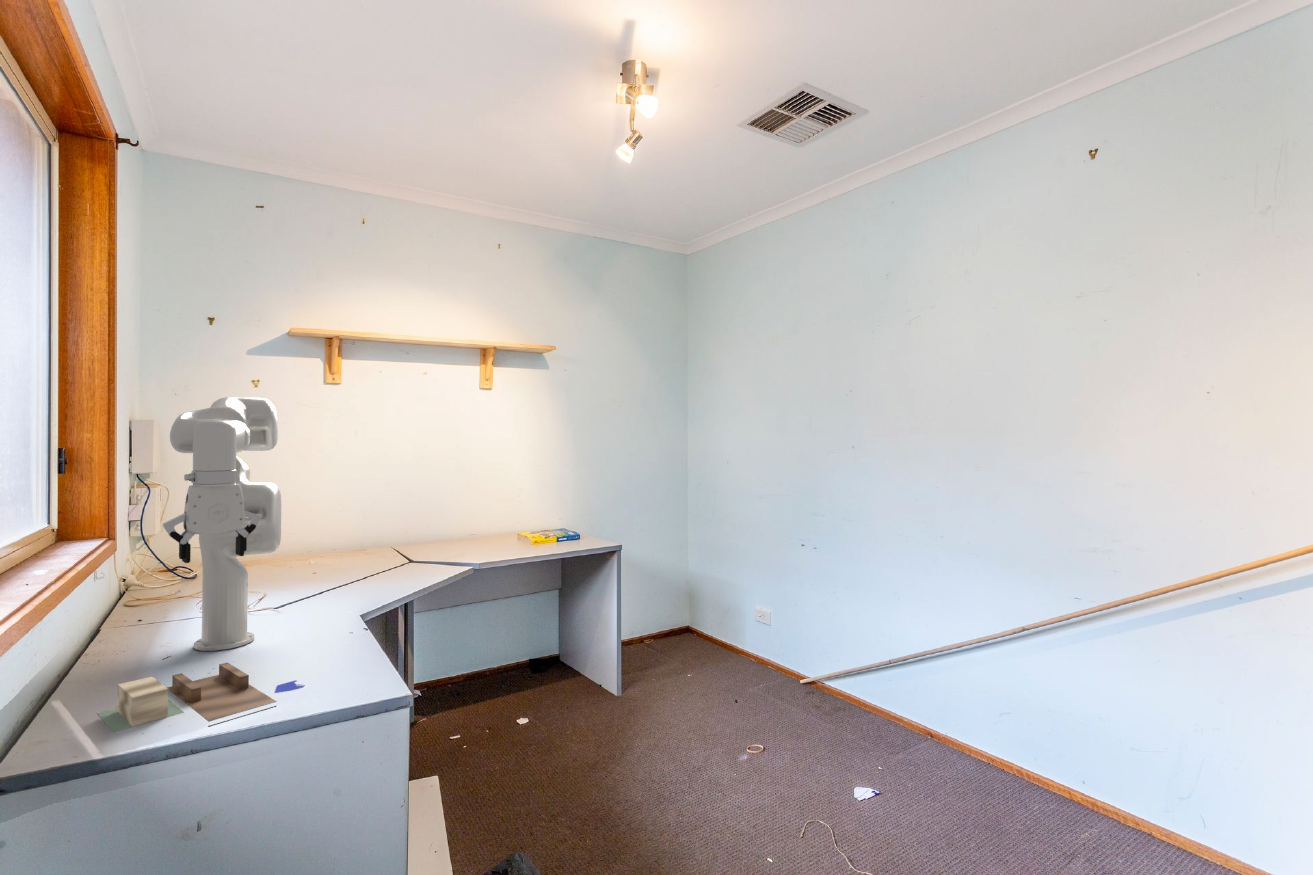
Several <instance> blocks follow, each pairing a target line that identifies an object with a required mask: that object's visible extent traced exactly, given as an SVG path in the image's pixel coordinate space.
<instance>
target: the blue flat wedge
mask: <svg viewBox="0 0 1313 875" xmlns="http://www.w3.org/2000/svg"><path fill="white" fill-rule="evenodd" d="M296 682H298V681H297V680H292V681H291V680H290V681H289V682H285V683H281V684H277V685H276V687H275V690H274V693H273V694H280V693H284V692H285V693H286V692H291V691H295V690H300V689H302V688H304V687H305V686H306V684H305V685H303V684H300V683H298V684H297V683H296Z"/></svg>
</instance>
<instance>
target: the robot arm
mask: <svg viewBox="0 0 1313 875" xmlns="http://www.w3.org/2000/svg"><path fill="white" fill-rule="evenodd" d="M276 410H277V409H276V407H275V405H274V404H273V403H272V401H270V400H269V399H268V398H261V397H240V396H230V397H229V396H226V397H221V398H218V399H217V400H214V402H212V404H211V405H210V407H207V408H203V409H198V410H191V411H187V412H183V413H181V414H180V415H178V416H177V417H176V418H175V420H174V421H173V423H172V425H171V428H170V434H169V442H170V445H171V447H172V448H173V449H174V450H175V451H176V452H177V453H182V454H192V470H191V472H189V473H188V474H187V473H185V474H184V475H183V478H184V479H183V480H184V481H185V482H187V481H189V482H191V484H192V485H188V488H187V492H186V495H185V496H186V497H185V502H184V509H183V513H182V514H180V515H178V516H175V517H174V518H172V519H170V520H168V521H166V522H164V523H162V528H164V530H165V532H166V533H167V535H168V536H169V537H170V538H171V539H173V540H174V541H176V542H177V543H178V557H179V560H181V562H182V563H185V564H190V563H191V546H192V545H191V544H190V543H189V541H190V540H191V539H192V538H193V537H194V536H195V535H198V542H199V543H198V544H199V549H200V556H201V563H202V564H201V566H202V591H201V593H202V594H201V596H202V598H201V600H202V601H201V602H202V603H201V605H202V606H201V638H199V639H197V640H196V641H195V642H194V643H193V649H195V650H196V651H201V652H206V651H207V652H214V651H223V650H230V649H234V648H238V647H242V646H245V645H247V644H250V643H252V642H253V641H254V640H255V634H254V633H252V632H250V631H248V610H249V609H248V607H249V606H248V602H249V599H248V596H249V594H248V593H249V572H248V570H247V568H246V566H245V565H244V564H243V563H242V562H241V561H240V560H239V559H238V558H237V557H244V556H251V555H252V556H253V555H265V554H271V553H274V552H276V551H277V550H278V549H279V547H280V545H281V540H282V539H281V538H282V495H281V490H280V488H279V486H278V485H277V484H275V483H273V482H269V481H256V482H255V481H254V482H252V481H251V482H250V478H251V470H250V467H249V466H248V465H247V463H245V461H243V460H242V459H241V457H239V456H238V455H237V453H241V452H243V451H245V452H246V451H247V452H248V451H250V452H253V451H256V452H257V451H259V452H261V451H262V452H263V451H271V450H273V449H274V448H275V447H276V446H277V444H278V441H279V433H278V432H279V430H278V428H279V427H278V414H277V411H276ZM181 523H183V524H182V526H183V529H184V530H183V531H182V533H179V532H177V531H176V529H175V527H176V526H177V525H179V524H181Z"/></svg>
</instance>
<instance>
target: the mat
mask: <svg viewBox="0 0 1313 875" xmlns="http://www.w3.org/2000/svg"><path fill="white" fill-rule="evenodd" d="M117 709H118V707H116V708H112V709H108V710H104V711H100V712H97V716H98V717H99V718H101V720H102V721H103V722H104V723H105V725H106V726H108V728H109V729H110V730H111V732H113V733H115V732H119V731H122V730H126V729H129V728H133V727H137V726H141V725H145V724H148V723H151V722H156V721H158V720H162V719H166V718H169V717H172V716H176V715H180V714H184V713H185V712H184V711H183V710H182V709H181V708H180V707H179V706H178V705H177V704H175V703H174V702H173V701H171V699H169V698H168V717H165V718H161V719H157V720H154V721H150V722H147V723H143V724H139V725H136V726H131V725H130V724H129V723H128V722H127V721H126V720H125V719H124V718H123V717H122V716H121V715H120V714H119V713H118V711H117Z"/></svg>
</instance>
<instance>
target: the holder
mask: <svg viewBox="0 0 1313 875" xmlns="http://www.w3.org/2000/svg"><path fill="white" fill-rule="evenodd" d="M218 668H219V669H218V674H216V675H213V676H208V677H203V678H200V679H196V680H195V679H194V680H192V679H191V678H189V677H187V676H186V675H185V674H183V672H181V673H177V674H174V675H172V676H171V677H172V680H171V681H172V683H171V685H172V686H168V687H167V686H166V688H168V691H170V692H171V693H172V694H174V696H176V697H177V698H179V699H180V700H181V701H182V702H184V703H185V704H186V705H187V706H189V707H190V708H191V709H193V711H195V712H196V713H197V714H199V715H200V716H201V717H202V718H204V719H205V720H206V721H208V722H212V721H216V720H219V719H223V718H225V717H229V716H232V715H237V714H240V713H243V712H246V711H249V710H253V709H256V708H260V707H264V706H267V705H270V704H273V703H276V702H277V701H276V700H275V699H274V698H272V697H271V696H268V695H267V694H265V692H262V691H261V690H259V689H258V688H256V687H254V686H252V685H251V684H250V682H249V681H250V680H249V679H250V677H249V674H247V673H246V672H244V671H243V670H241V669H239V668H238V667H236V666H234V665H233V664H231V663H229V662H223V663H220V664H219V666H218ZM273 708H277V705H274V706H270V707H267V708H264V709H260V710H257V711H254V712H251V713H246V714H244V715H240V716H236V717H234V718H231V719H227V720H224V721H221V722H217V723H215V724H211V725H208V726H207V727H208V728H210V727H213V726H216V725H220V724H222V723H225V722H226V723H227V722H229V721H233V720H236V719H240V718H243V717H246V716H250V715H252V714H256V713H259V712H263V711H266V710H271V709H273Z"/></svg>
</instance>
